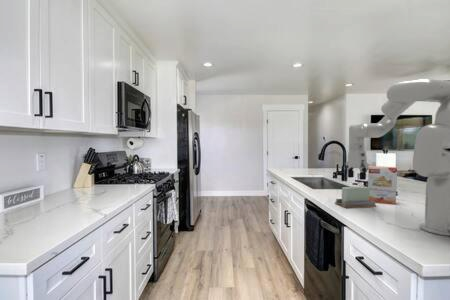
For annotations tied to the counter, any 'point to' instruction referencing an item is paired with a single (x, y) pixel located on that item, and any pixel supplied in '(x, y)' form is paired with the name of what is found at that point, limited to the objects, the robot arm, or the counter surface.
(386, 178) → the cracker box
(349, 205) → the door track
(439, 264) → the counter surface
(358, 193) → the pale green block
